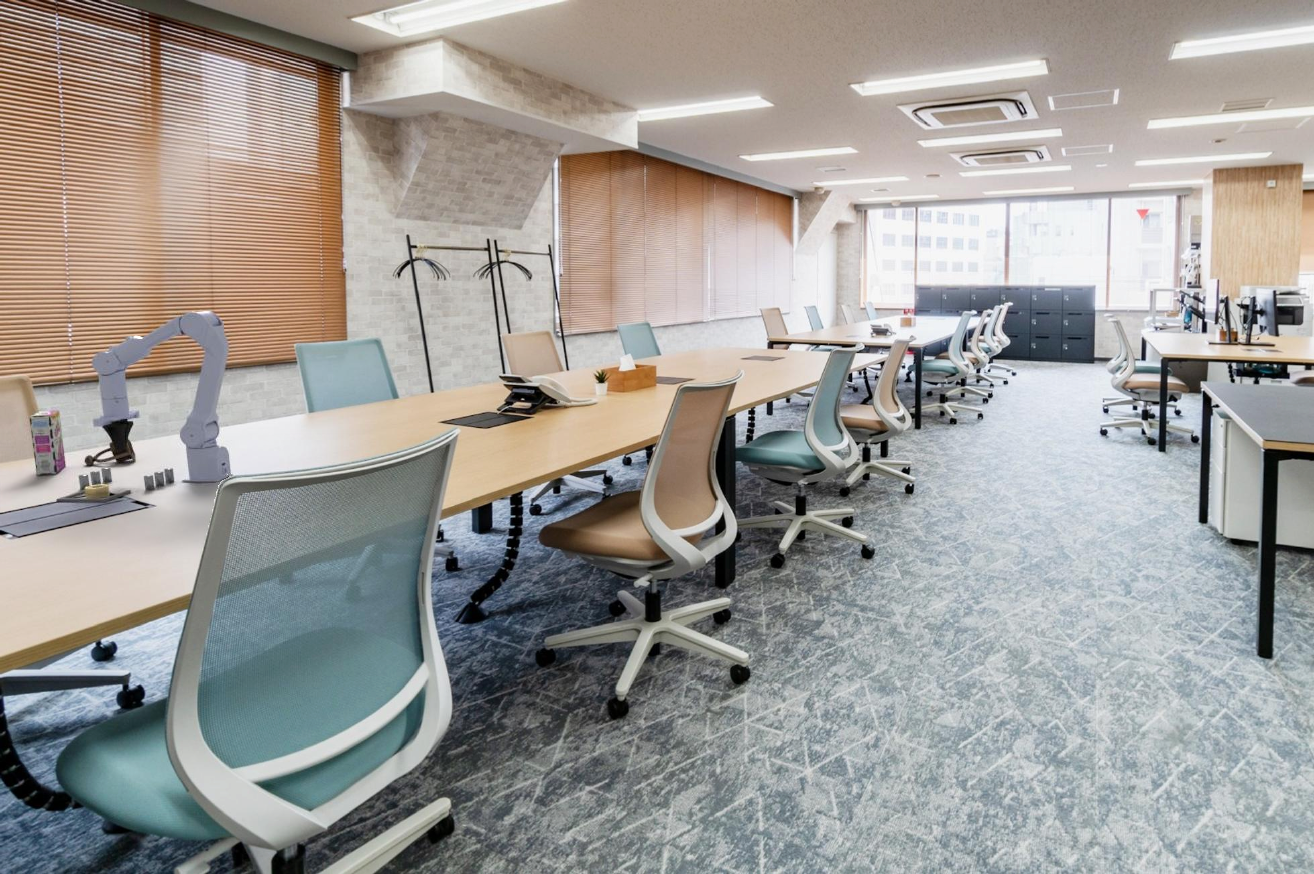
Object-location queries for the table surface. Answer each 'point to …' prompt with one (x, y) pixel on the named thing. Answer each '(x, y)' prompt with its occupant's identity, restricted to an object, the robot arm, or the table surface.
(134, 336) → the robot arm
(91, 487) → the nut
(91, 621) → the table surface
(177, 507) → the table surface
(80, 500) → the frame
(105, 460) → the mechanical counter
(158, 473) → the metal pins
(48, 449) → the candy bar box
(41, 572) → the table surface
